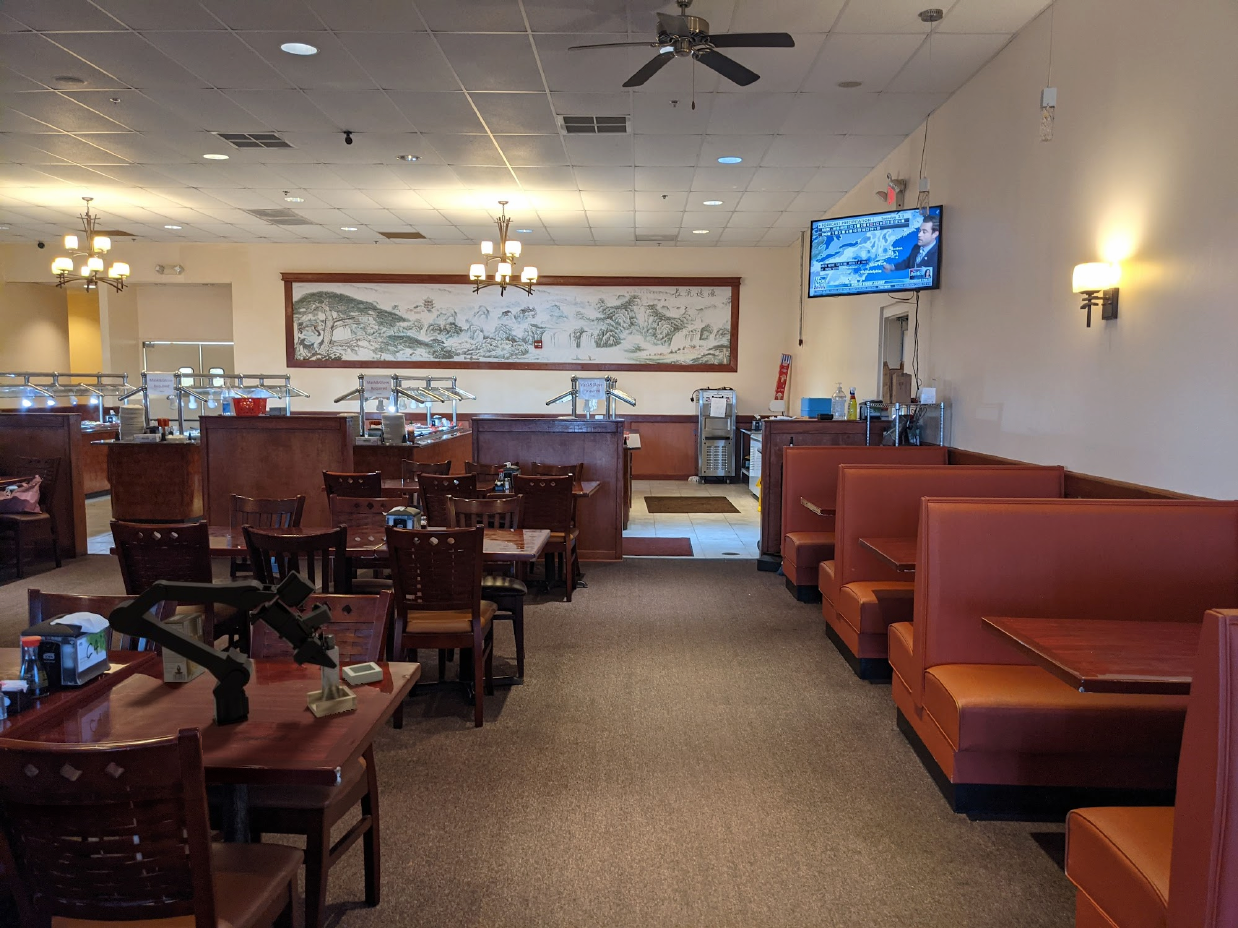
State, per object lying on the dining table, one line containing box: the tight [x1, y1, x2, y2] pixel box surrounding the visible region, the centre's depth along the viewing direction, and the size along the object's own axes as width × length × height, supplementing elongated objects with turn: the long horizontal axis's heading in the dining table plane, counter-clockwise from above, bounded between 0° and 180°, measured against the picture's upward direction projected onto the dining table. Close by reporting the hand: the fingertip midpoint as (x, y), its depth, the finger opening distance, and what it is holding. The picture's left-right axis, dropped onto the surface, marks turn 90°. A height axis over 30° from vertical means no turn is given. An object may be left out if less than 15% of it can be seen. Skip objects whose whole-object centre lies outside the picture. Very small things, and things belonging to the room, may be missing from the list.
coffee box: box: [161, 612, 206, 683], centre depth 221 cm, size 9×6×16 cm
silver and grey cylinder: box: [320, 633, 341, 701], centre depth 199 cm, size 4×4×15 cm
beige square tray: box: [306, 685, 358, 718], centre depth 199 cm, size 9×9×3 cm
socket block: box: [341, 661, 384, 686], centre depth 219 cm, size 8×8×2 cm
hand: (335, 664), depth 199 cm, fingers closed on silver and grey cylinder, 4 cm apart
